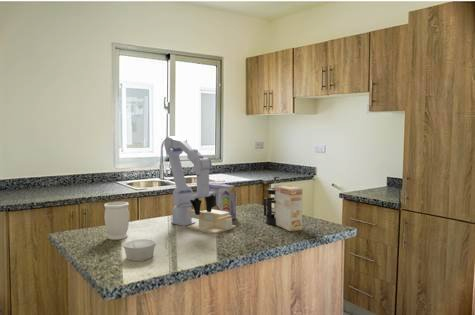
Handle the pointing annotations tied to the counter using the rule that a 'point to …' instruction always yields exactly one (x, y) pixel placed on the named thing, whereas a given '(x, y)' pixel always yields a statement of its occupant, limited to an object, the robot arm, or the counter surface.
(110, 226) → the jar
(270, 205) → the french press
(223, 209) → the cake pan box
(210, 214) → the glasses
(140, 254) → the ramekin
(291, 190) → the coffeecake box
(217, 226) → the stand
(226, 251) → the counter surface
